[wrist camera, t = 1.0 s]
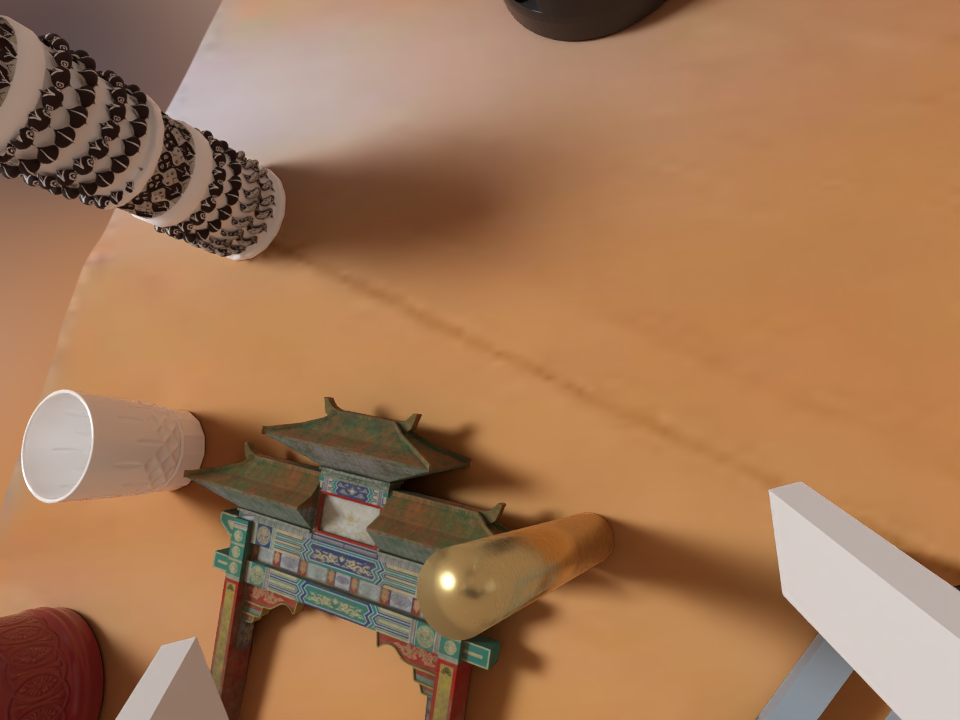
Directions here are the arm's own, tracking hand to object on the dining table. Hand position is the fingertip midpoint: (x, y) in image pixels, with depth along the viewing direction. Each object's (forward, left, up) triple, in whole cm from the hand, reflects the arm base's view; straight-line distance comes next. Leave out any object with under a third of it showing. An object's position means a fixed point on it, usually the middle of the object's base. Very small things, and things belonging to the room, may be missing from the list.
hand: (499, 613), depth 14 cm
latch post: (+1, -4, -24) cm, 24 cm away
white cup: (-4, -39, -24) cm, 47 cm away
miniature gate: (+8, -21, -25) cm, 33 cm away
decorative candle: (-24, -33, -24) cm, 48 cm away
